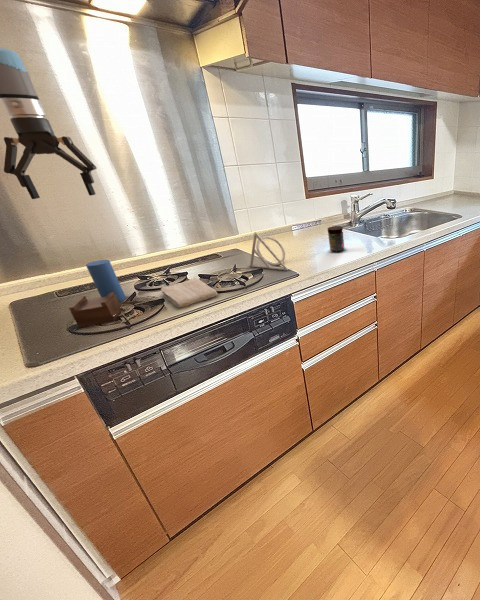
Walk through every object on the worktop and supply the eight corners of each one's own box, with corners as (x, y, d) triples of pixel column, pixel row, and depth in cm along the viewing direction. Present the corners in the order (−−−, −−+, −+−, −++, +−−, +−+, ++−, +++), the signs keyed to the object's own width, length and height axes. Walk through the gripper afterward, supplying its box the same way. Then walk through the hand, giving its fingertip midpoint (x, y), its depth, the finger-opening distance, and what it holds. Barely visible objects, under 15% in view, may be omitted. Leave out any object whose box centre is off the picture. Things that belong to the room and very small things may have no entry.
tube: (105, 263, 98) (111, 258, 102) (82, 266, 96) (89, 261, 100) (123, 302, 104) (128, 295, 108) (101, 305, 102) (107, 298, 106)
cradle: (89, 315, 96) (80, 296, 93) (122, 309, 99) (114, 291, 96) (78, 327, 89) (68, 307, 87) (114, 321, 92) (105, 301, 90)
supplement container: (342, 253, 144) (340, 230, 140) (328, 252, 145) (325, 229, 141) (346, 248, 150) (344, 226, 146) (332, 248, 151) (330, 226, 147)
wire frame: (283, 267, 144) (304, 254, 135) (265, 283, 134) (287, 270, 126) (253, 234, 137) (275, 218, 128) (233, 248, 127) (254, 232, 119)
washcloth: (197, 283, 116) (195, 275, 115) (220, 296, 106) (217, 288, 104) (159, 294, 108) (156, 286, 107) (179, 310, 98) (176, 301, 96)
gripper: (-44, 116, 82) (2, 201, 92) (79, 116, 91) (110, 195, 100) (-24, 118, 89) (18, 198, 98) (90, 118, 97) (118, 192, 107)
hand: (65, 196), depth 99 cm, fingers open, 13 cm apart
